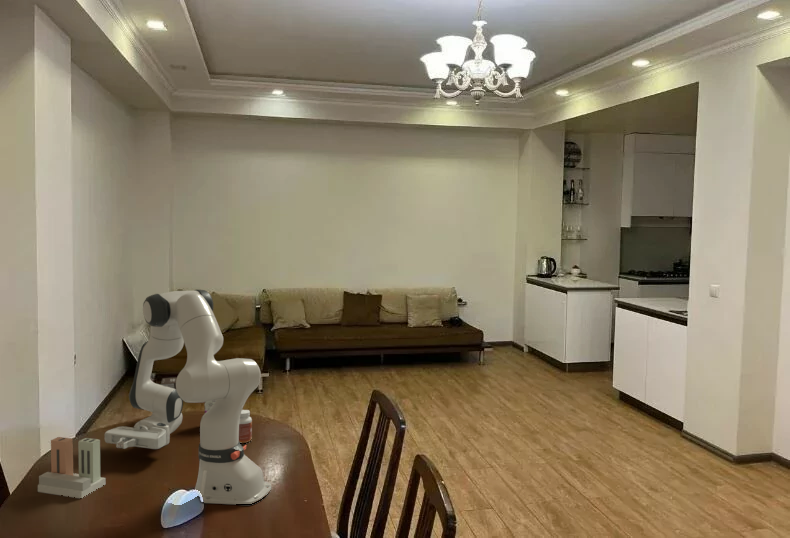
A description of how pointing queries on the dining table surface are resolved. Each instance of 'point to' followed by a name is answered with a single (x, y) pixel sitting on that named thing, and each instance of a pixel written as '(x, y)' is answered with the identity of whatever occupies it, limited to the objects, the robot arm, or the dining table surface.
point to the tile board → (72, 492)
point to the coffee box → (169, 382)
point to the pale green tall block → (89, 458)
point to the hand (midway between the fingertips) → (120, 446)
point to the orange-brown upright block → (62, 456)
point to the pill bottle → (245, 426)
